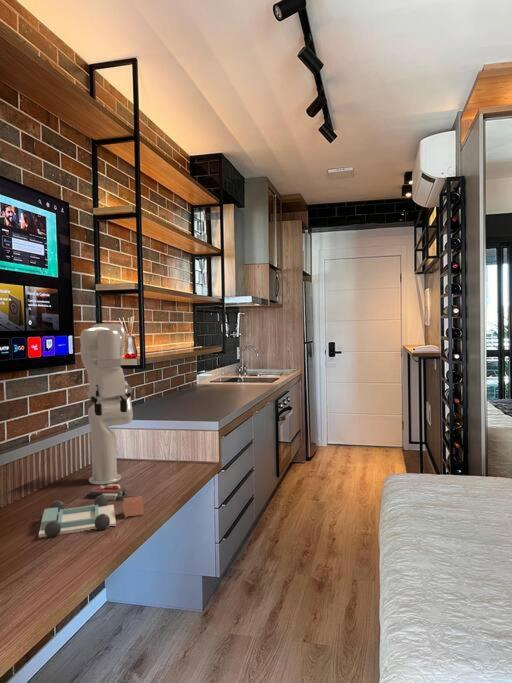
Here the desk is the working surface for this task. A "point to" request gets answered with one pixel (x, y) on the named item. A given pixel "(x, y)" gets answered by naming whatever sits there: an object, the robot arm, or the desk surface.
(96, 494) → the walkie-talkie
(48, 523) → the chassis
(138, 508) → the orange-brown block
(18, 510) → the desk surface
